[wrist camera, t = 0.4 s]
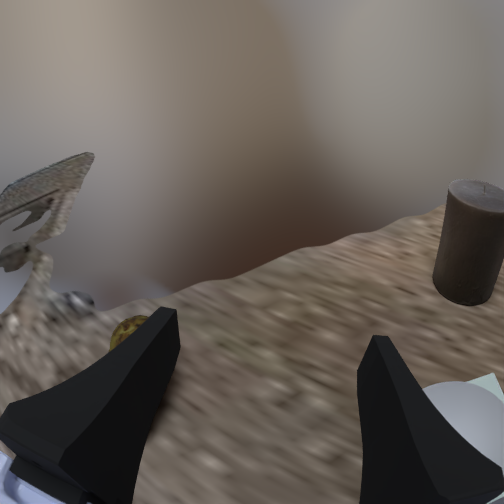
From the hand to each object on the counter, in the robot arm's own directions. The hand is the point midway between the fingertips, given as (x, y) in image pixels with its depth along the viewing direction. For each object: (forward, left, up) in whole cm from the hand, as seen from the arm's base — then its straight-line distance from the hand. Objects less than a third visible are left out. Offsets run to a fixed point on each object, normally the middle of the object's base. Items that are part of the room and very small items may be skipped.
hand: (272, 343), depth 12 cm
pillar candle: (+22, -26, -20) cm, 40 cm away
